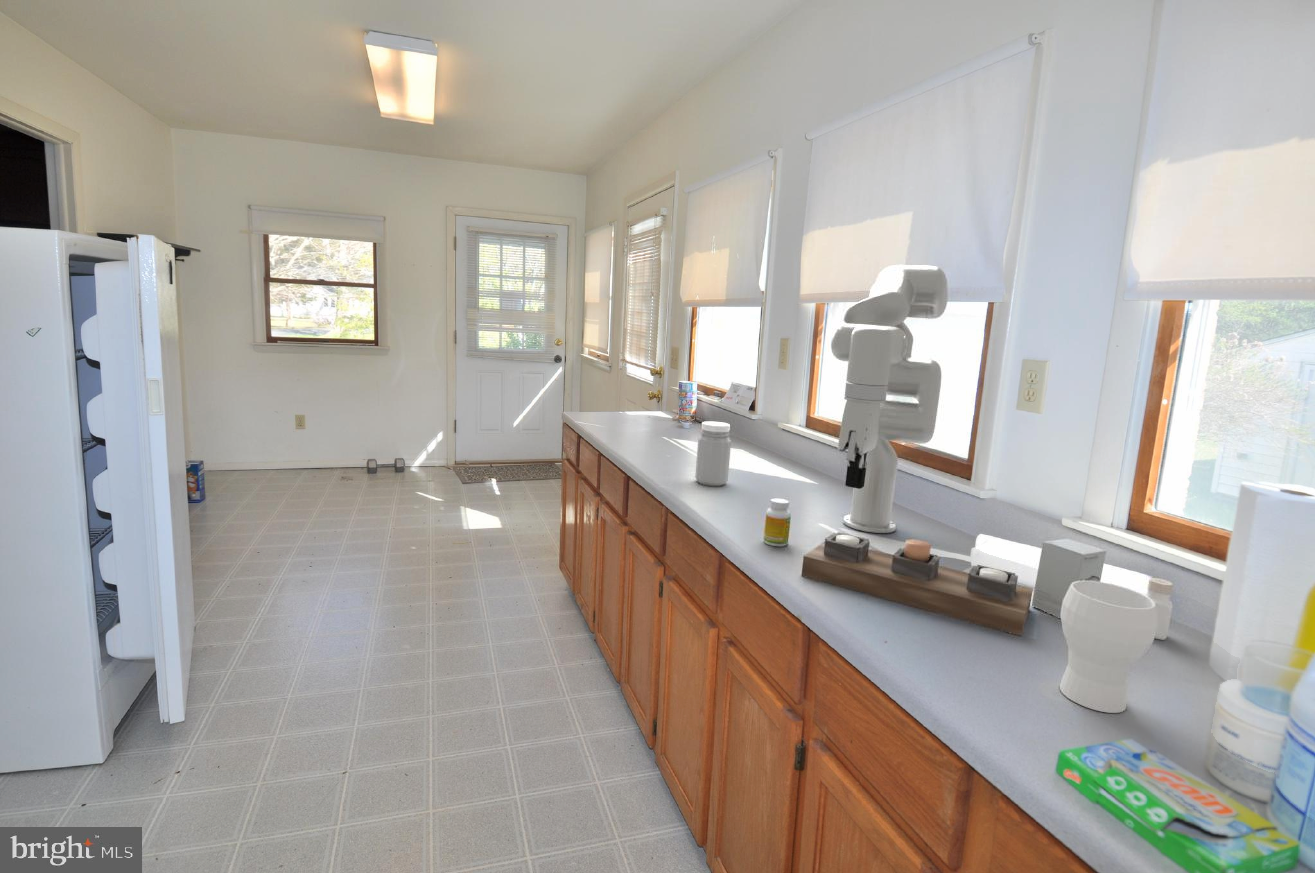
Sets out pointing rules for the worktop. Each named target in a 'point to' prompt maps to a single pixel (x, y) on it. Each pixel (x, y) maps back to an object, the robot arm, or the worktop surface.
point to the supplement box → (1064, 571)
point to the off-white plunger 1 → (847, 539)
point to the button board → (921, 583)
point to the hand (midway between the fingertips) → (854, 486)
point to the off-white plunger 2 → (993, 574)
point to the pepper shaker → (1161, 604)
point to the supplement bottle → (777, 523)
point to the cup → (1104, 642)
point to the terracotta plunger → (917, 550)
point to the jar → (713, 454)
